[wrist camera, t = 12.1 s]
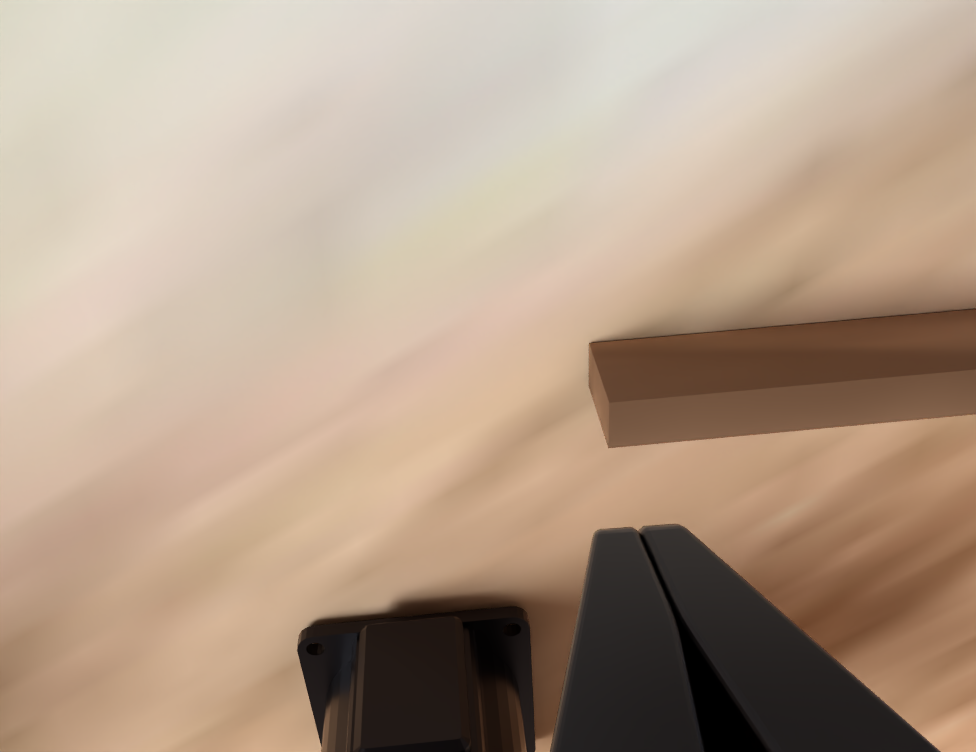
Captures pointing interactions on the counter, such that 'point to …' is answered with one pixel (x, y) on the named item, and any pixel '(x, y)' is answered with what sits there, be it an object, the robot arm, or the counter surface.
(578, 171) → the counter surface
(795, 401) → the brown wooden beams
